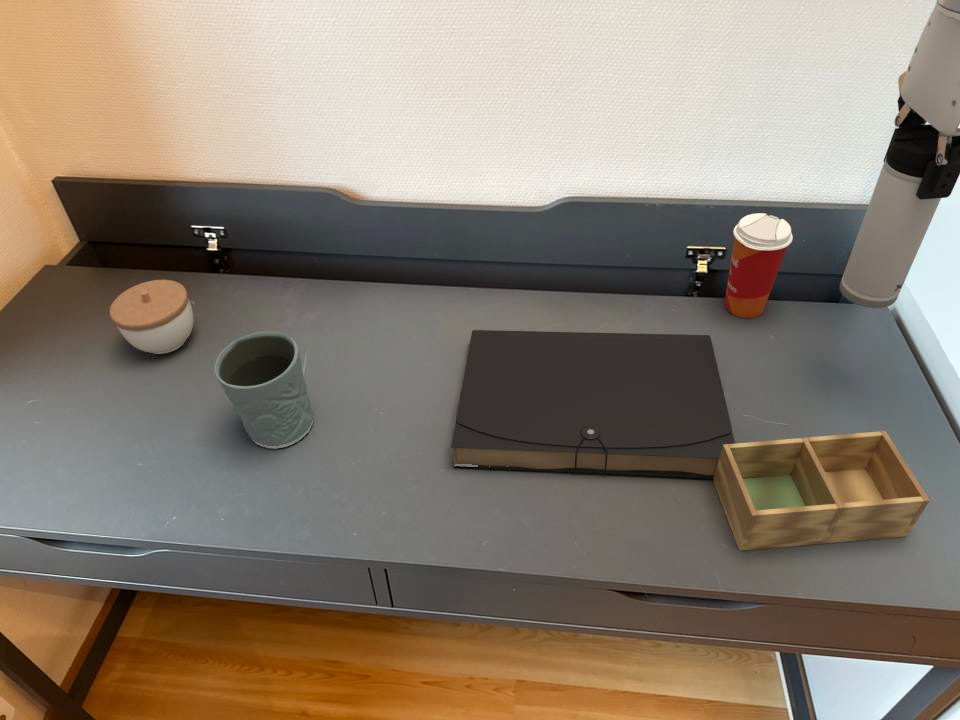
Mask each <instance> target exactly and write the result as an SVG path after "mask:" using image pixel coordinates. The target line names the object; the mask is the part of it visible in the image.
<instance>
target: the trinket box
mask: <svg viewBox="0 0 960 720" xmlns="http://www.w3.org/2000/svg"><path fill="white" fill-rule="evenodd" d="M109 316H110V319H111V321H112V322H113V324H114V326H115V327H116V328H117V330H118V331H119V333H120V334H121V336H122V337H123V339H125V341H127V343H129V345H131V346H132V347H134V348H135V349H137V350H139V351H141V352H144V353H148V352H149V354H151V353H158V352H164V351H168V350H171V349H173V348H175V347H177V346H179V345H180V344H182V343H183V342H184V341H185V340H186V339H187V338H188V339H189V337H190V335H191V334H192V331H193V328H194V323H195V322H194V321H195V317H194V310H193V307H192V303H191V301H190V299H189V294H188V291H187V289H186V288H185V286H184V285H182V284H181V283H180V282H178V281H175V280H171V279H154V280H149V281H145V282H141V283H139V284H136V285H134V286H132V287H129V288H128V289H126V290H125V291H122V292H121V293H120V294H119V295H118V296H117V297H116V298H115V299H114V301H112V304H111V305H110V307H109ZM188 339H187V340H188Z"/></svg>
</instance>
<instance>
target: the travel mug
mask: <svg viewBox="0 0 960 720" xmlns="http://www.w3.org/2000/svg"><path fill="white" fill-rule="evenodd" d="M957 129H960V127H958V128H957ZM938 139H939V131H938V130H937V129H935V128H934V127H933V126H932V125H931V124H925V125H916V126H911V127H907V128H904V129H902V130H900V131H899V132H897V133H896V134H895V136H894V138H893V141H892V144H891V147H890V149H889V150H890V151H889V152H888V155H887V156H886V159H885V161H884V160H883V164H882V167H881V170H880V173H879V176H878V178H877V181H876V183H875V186H874V190H873V192H872V194H871V198H870V200H869V203H868V205H867V208H866V211H865V214H864V217H863V219H862V222H861V225H860V227H859V231H858V233H857V236H856V239H855V241H854V244H853V246H852V250H851V252H850V255H849V258H848V261H847V263H846V266H845V269H844V271H843V274H842V277H841V279H840V282H839V291H840V294H841V295H842V296H843V297H844V298H845V299H846V300H848V301H849V302H850V303H853V304H854V305H857V306H859V307H864V308H868V309H883V308H888V307H890V306H892V305H893V304H895V302H896V301H897V300H898V297H899V296H900V293H901V290H902V289H903V286H904V284H905V282H906V279H907V277H908V275H909V272H910V270H911V268H912V266H913V263H914V261H915V259H916V257H917V254H918V252H919V250H920V247H921V245H922V243H923V241H924V238H925V236H926V234H927V232H928V230H929V227H930V225H931V222H932V221H933V218H934V216H935V213H936V211H937V209H938V206H939V204H940V202H941V200H942V198H935V199H922V200H921V199H919V198H918V197H917V196H916V193H917V190H918V188H919V185H920V183H921V180H922V178H923V176H924V173H925V171H926V168H927V166H928V163H929V161H932V160H936V153H937V146H938ZM959 145H960V136H958V137H952V141H951V148H950V150H951V149H953V148H955V147H957V146H959Z"/></svg>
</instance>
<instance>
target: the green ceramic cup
mask: <svg viewBox="0 0 960 720" xmlns="http://www.w3.org/2000/svg"><path fill="white" fill-rule="evenodd" d="M302 366H303V365H302V361H301V356H300V351H299V347H298V344H297V343H296V341H295V340H294V339H293V338H292V337H291V336H289V335H287V334H285V333H282V332H278V331H259V332H254V333H249V334H246V335H245V336H242V337H239V338H237V339H235V340H234V341H232V342H231V343H229V344H228V345H227V346H225V348H223V349H222V351H220V353H219V354H218V356H217V357H216V360H215V364H214V367H213V369H214V375H215V377H216V379H217V381H218V383H219V384H220V387H222V389H223V391H224V393H225V394H226V396H227V398H228V400H229V402H230V403H231V404H232V405H233V406H234V409H235V412H236V413H237V414H238V416H239V418H240V420H241V422H242V425H243V427H244V429H245V431H246V433H247V435H248V436H249V438H250V437H251V438H250V440H251V439H252V440H254V441H255V442H257V443H259V444H262V445H267V446H279V445H283V444H287V443H290V442H292V441H294V440H296V439H298V438H299V437H300V436H302V435H303V434H304V433H305V432H306V431H307V430H308V428H309V427H310V425H311V423H312V420H313V414H314V410H313V406H312V402H311V400H310V396H309V394H308V393H309V392H308V389H307V388H308V387H307V384H306V380H305V377H304V376H305V375H304V373H303V369H302V368H303V367H302ZM252 440H251V441H252Z"/></svg>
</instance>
